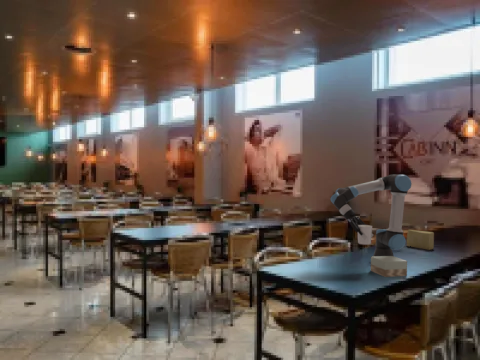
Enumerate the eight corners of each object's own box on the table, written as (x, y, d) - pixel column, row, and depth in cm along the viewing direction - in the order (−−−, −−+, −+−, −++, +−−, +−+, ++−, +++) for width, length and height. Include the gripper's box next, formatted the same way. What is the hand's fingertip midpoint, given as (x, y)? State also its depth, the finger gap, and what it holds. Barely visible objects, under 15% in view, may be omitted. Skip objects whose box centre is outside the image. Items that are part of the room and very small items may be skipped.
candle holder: (353, 242, 282) (354, 225, 282) (365, 241, 286) (365, 224, 286) (363, 245, 273) (363, 227, 273) (375, 244, 277) (375, 226, 277)
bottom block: (391, 270, 280) (391, 263, 280) (406, 276, 264) (407, 268, 264) (370, 271, 275) (370, 264, 275) (385, 277, 260) (385, 269, 260)
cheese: (404, 246, 373) (404, 229, 373) (409, 245, 380) (409, 229, 379) (429, 250, 357) (429, 232, 356) (433, 248, 363) (434, 231, 363)
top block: (392, 263, 279) (392, 255, 279) (407, 268, 264) (407, 261, 264) (370, 264, 275) (371, 256, 275) (384, 269, 260) (385, 261, 260)
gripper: (350, 214, 297) (371, 239, 287) (336, 217, 281) (358, 243, 271) (357, 207, 294) (379, 232, 284) (343, 209, 277) (366, 236, 267)
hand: (369, 237), depth 277 cm, fingers closed on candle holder, 9 cm apart
